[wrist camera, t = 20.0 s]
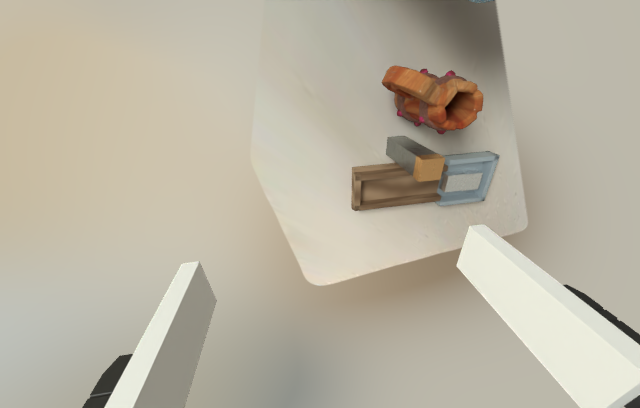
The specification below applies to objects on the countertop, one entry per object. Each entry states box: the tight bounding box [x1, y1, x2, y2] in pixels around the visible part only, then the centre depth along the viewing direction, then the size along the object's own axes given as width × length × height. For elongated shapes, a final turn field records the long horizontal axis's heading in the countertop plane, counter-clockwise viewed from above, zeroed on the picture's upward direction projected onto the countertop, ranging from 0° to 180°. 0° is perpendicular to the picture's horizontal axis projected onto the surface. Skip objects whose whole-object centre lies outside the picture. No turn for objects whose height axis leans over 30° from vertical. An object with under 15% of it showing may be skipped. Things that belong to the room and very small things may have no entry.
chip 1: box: [438, 170, 466, 192], centre depth 52 cm, size 4×4×2 cm
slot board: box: [352, 163, 448, 211], centre depth 51 cm, size 10×20×3 cm, turn 93°
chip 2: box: [460, 169, 483, 191], centre depth 52 cm, size 4×4×2 cm
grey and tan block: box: [386, 136, 445, 182], centre depth 42 cm, size 4×4×14 cm
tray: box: [434, 151, 500, 206], centre depth 52 cm, size 11×11×3 cm
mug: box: [382, 66, 483, 134], centre depth 36 cm, size 15×8×15 cm, turn 66°
